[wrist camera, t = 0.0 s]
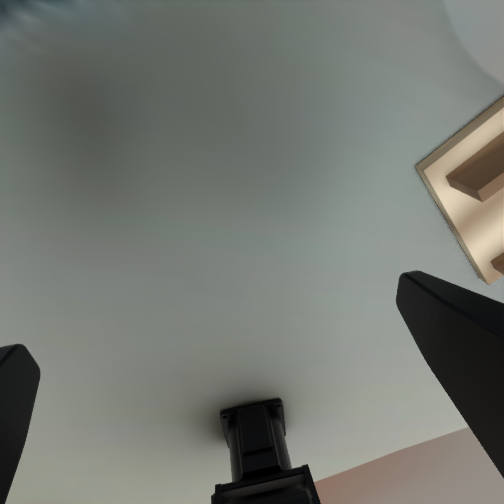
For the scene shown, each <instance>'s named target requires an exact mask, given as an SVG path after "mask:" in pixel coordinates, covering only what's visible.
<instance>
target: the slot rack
mask: <svg viewBox="0 0 504 504" xmlns="http://www.w3.org/2000/svg"><path fill="white" fill-rule="evenodd" d="M415 168H416V169H417V171H418V173H419V174H420V176H421V178H422V180H423V181H424V183H425V185H426V186H427V188H428V190H429V192H430V193H431V195H432V197H433V199H434V200H435V202H436V204H437V205H438V207H439V209H440V211H441V212H442V214H443V216H444V217H445V219H446V221H447V223H448V224H449V226H450V228H451V229H452V231H453V233H454V235H455V236H456V238H457V240H458V241H459V243H460V245H461V247H462V248H463V250H464V252H465V253H466V255H467V257H468V259H469V260H470V262H471V264H472V265H473V267H474V269H475V271H476V272H477V274H478V276H479V277H480V279H481V280H483V281H484V282H485V283H487V284H488V285H490V284H491V283H493V282H494V281H496V280H497V279H499V278H500V277H502V276H503V275H504V96H503V97H502V98H500V99H499V100H498V101H497V102H495V103H494V104H493V105H492V106H490V107H489V108H488V109H487V110H485V111H484V112H483V113H482V114H480V115H479V116H478V117H477V118H475V119H474V120H473V121H472V122H470V123H469V124H468V125H467V126H465V127H464V128H463V129H462V130H460V131H459V132H458V133H457V134H455V135H454V136H453V137H452V138H450V139H449V140H448V141H447V142H445V143H444V144H443V145H442V146H440V147H439V148H438V149H437V150H435V151H434V152H433V153H432V154H430V155H429V156H428V157H427V158H425V159H424V160H423V161H422V162H420V163H419V164H418V165H417V166H415Z"/></svg>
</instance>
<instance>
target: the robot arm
mask: <svg viewBox="0 0 504 504" xmlns="http://www.w3.org/2000/svg"><path fill="white" fill-rule="evenodd" d="M396 304H397V307H398V310H399V311H400V313H401V315H402V317H403V319H404V321H405V323H406V325H407V327H408V329H409V331H410V332H411V334H412V336H413V338H414V340H415V342H416V344H417V346H418V348H419V350H420V351H421V353H422V355H423V357H424V359H425V360H426V362H427V364H428V365H429V367H430V368H431V370H432V372H433V373H434V375H435V376H436V378H437V379H438V381H439V382H440V384H441V385H442V387H443V388H444V390H445V391H446V393H447V394H448V396H449V397H450V399H451V400H452V402H453V403H454V405H455V406H456V408H457V409H458V411H459V412H460V414H461V415H462V417H463V418H464V420H465V421H466V423H467V424H468V426H469V427H470V429H471V430H472V431H473V433H474V435H475V436H476V437H477V439H478V441H479V442H480V444H481V445H482V447H483V448H484V450H485V451H486V453H487V454H488V455H489V457H490V459H491V460H492V461H493V463H494V465H495V466H496V468H497V469H498V471H499V472H500V474H501V475H502V476H503V478H504V303H501V302H498V301H496V300H493V299H491V298H488V297H486V296H483V295H480V294H478V293H475V292H473V291H470V290H468V289H465V288H462V287H460V286H457V285H455V284H452V283H450V282H447V281H445V280H442V279H439V278H437V277H434V276H432V275H429V274H427V273H424V272H421V271H410V272H405V273H402V274H401V275H400V277H399V283H398V289H397V295H396ZM39 381H40V368H39V366H38V364H37V363H36V361H35V360H34V358H33V357H32V356H31V354H30V353H29V351H28V350H27V348H26V347H25V346H24V345H22V344H14V345H8V346H3V347H0V504H5V502H6V499H7V496H8V493H9V490H10V487H11V484H12V481H13V478H14V475H15V472H16V469H17V466H18V463H19V460H20V458H21V454H22V451H23V448H24V445H25V441H26V437H27V433H28V429H29V425H30V420H31V416H32V411H33V407H34V403H35V398H36V394H37V390H38V385H39ZM220 419H221V423H222V427H223V430H224V434H225V438H226V441H227V445H228V448H229V449H230V461H231V472H232V482H231V483H226V484H222V485H221V484H217V485H215V493H214V494H213V495H212V496H211V504H321V503H320V500H319V497H318V494H317V491H316V488H315V485H314V482H313V479H312V476H311V473H310V470H309V467H308V464H306V465H302V467H298V468H293V469H292V467H291V462H290V458H289V454H288V450H287V446H286V441H285V436H286V432H285V422H284V412H283V404H282V400H280V399H277V400H272V401H267V402H262V403H257V404H253V405H248V406H243V407H238V408H233V409H229V410H224V411H221V412H220Z"/></svg>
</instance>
